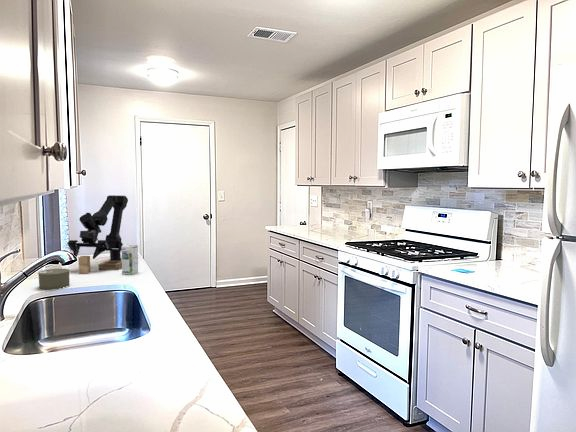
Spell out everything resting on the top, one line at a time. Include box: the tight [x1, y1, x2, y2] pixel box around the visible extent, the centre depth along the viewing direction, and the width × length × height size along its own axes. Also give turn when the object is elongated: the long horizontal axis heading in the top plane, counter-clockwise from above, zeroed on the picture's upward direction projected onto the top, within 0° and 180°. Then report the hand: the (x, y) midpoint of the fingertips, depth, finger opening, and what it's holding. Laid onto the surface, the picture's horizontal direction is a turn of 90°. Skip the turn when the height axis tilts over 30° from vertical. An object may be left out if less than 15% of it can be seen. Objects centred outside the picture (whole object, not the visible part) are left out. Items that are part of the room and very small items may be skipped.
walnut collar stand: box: [98, 260, 122, 271], centre depth 219 cm, size 10×10×3 cm
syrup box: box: [121, 244, 139, 276], centre depth 205 cm, size 6×6×14 cm
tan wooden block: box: [77, 255, 92, 275], centre depth 206 cm, size 4×4×8 cm
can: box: [37, 268, 71, 291], centre depth 179 cm, size 12×12×7 cm
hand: (83, 258), depth 205 cm, fingers open, 9 cm apart
